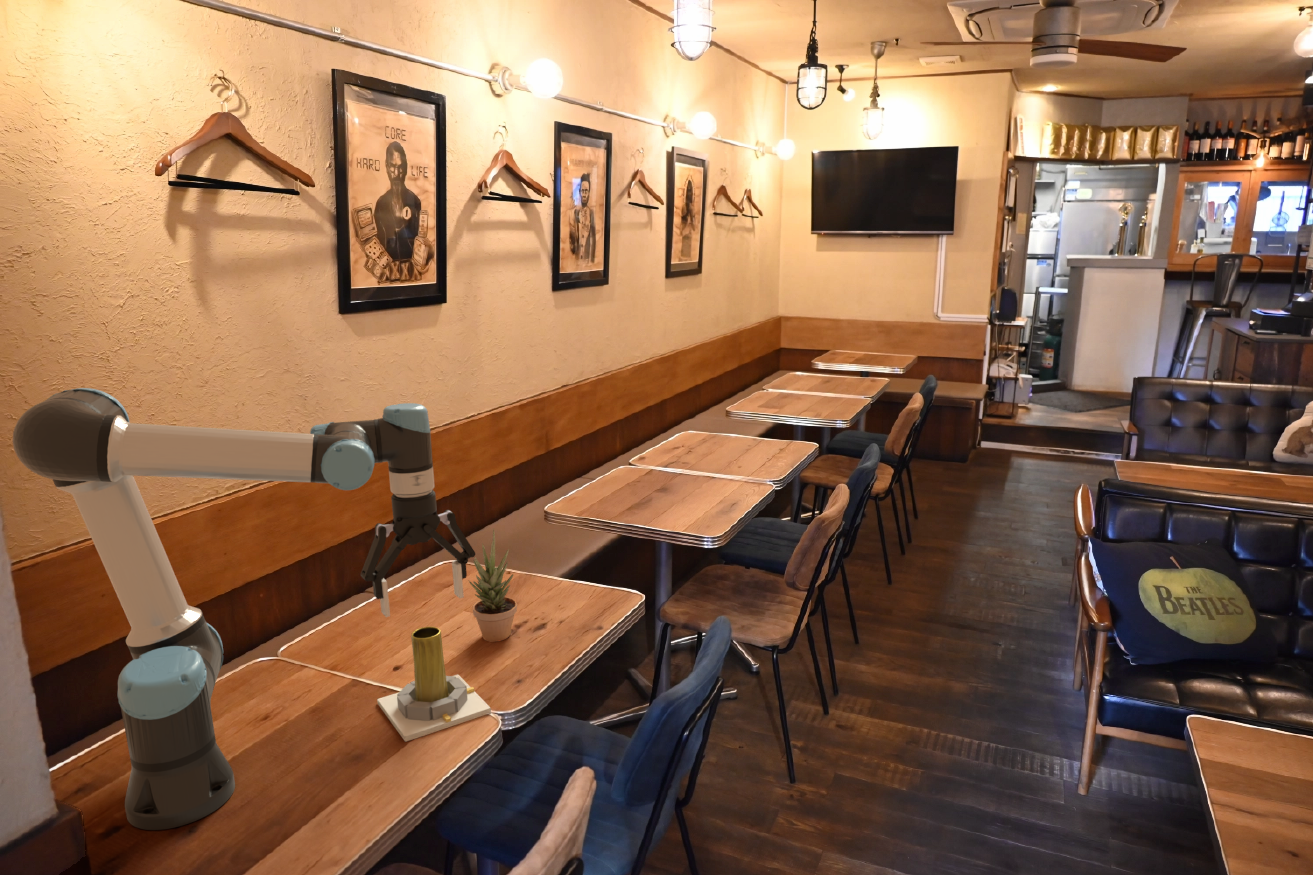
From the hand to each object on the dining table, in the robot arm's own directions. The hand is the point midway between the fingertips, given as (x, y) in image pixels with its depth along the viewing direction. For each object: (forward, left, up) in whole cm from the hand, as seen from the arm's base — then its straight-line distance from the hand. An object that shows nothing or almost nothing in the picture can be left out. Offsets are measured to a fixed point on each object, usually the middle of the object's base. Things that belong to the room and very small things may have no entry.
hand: (423, 604), depth 158 cm
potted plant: (+23, +22, -21) cm, 38 cm away
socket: (0, 0, -21) cm, 21 cm away
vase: (0, 0, -20) cm, 20 cm away
